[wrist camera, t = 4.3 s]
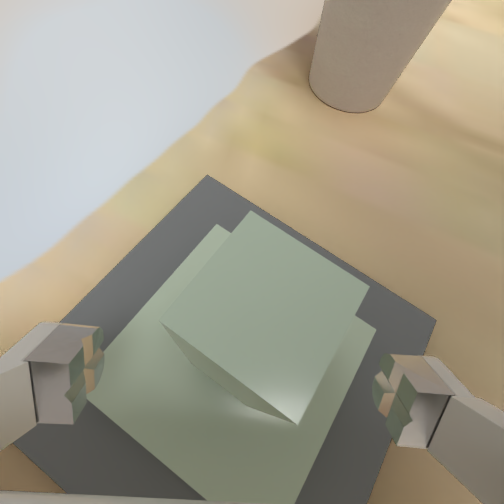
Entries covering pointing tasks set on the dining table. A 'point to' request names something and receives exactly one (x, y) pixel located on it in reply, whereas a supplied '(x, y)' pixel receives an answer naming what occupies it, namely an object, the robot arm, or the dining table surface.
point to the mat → (133, 300)
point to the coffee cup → (367, 48)
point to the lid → (239, 363)
